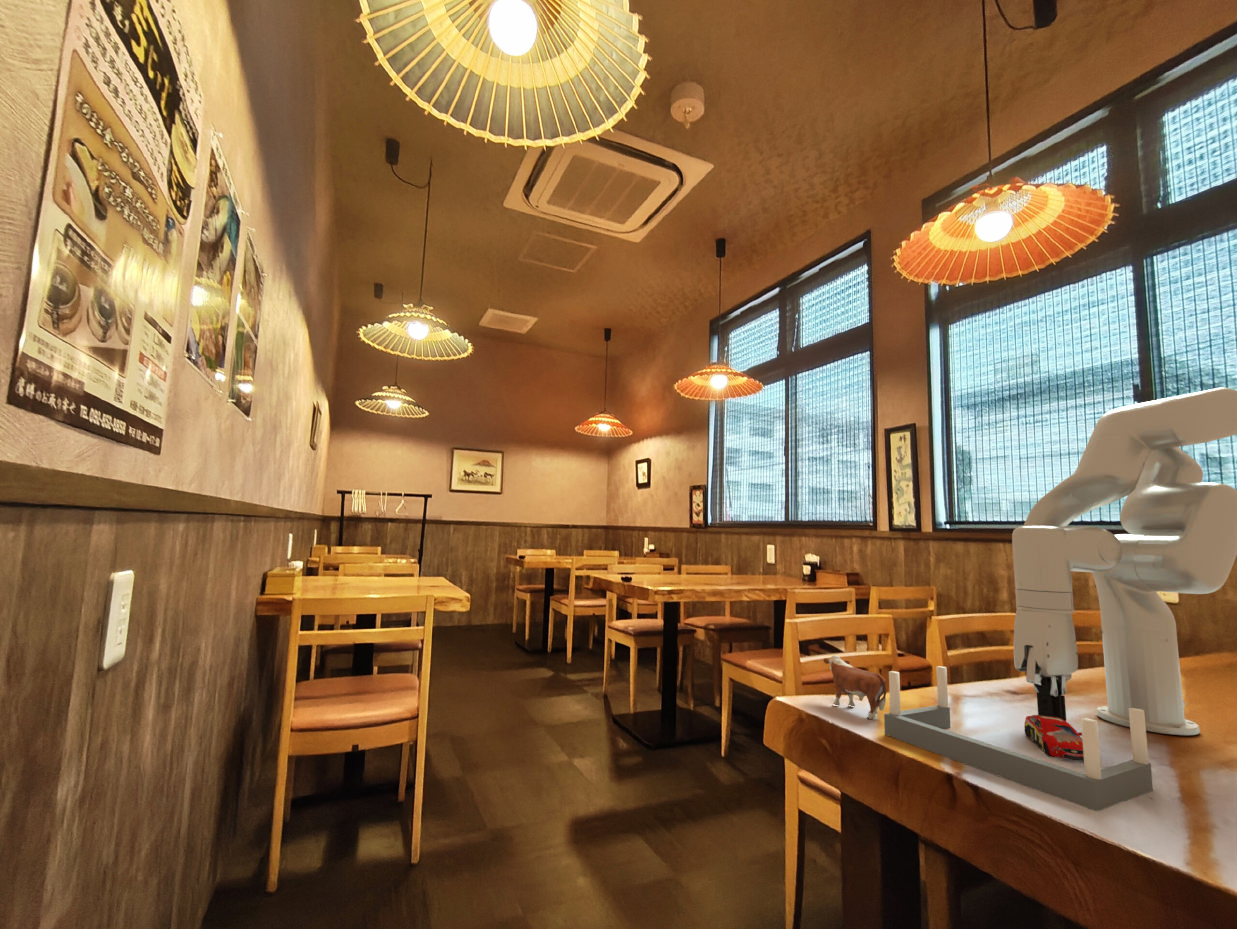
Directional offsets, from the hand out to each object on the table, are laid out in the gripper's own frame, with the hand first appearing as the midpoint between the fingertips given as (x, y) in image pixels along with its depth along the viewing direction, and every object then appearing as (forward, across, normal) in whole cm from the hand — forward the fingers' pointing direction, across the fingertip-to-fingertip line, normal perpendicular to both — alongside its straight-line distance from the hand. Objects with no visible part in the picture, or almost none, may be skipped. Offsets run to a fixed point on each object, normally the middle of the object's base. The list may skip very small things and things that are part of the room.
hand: (1052, 719), depth 89 cm
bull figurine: (+2, +22, -19) cm, 30 cm away
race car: (+2, +9, +5) cm, 10 cm away
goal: (+1, +21, +5) cm, 22 cm away
